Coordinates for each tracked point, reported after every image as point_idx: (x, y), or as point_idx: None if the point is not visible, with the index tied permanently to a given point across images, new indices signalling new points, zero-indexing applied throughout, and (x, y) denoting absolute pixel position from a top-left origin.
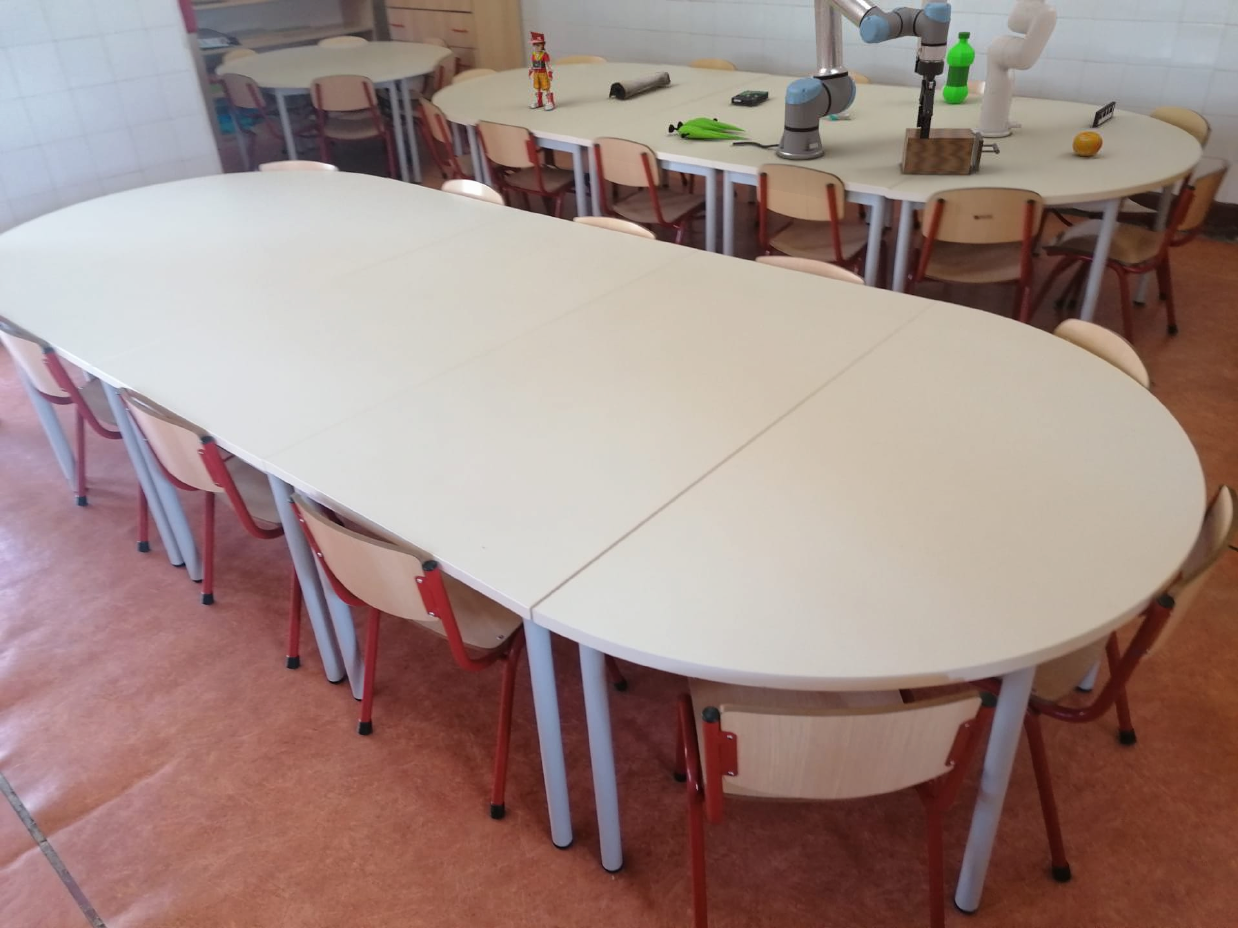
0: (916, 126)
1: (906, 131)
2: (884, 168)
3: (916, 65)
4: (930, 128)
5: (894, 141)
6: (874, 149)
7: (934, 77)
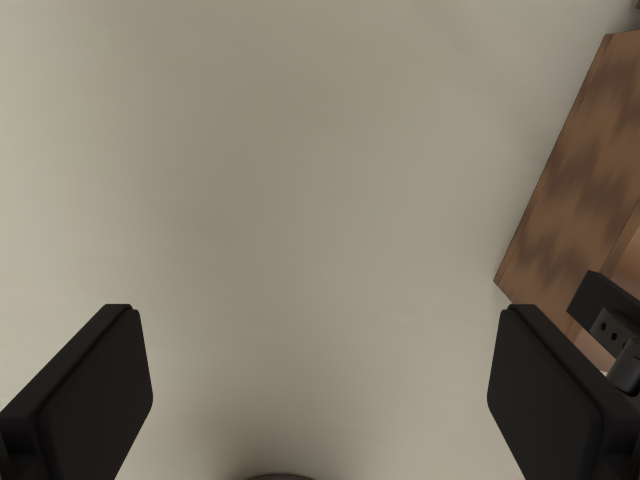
0: (567, 312)
1: (601, 369)
2: None
3: (114, 476)
4: (627, 252)
5: (181, 214)
6: (281, 317)
7: (532, 311)
